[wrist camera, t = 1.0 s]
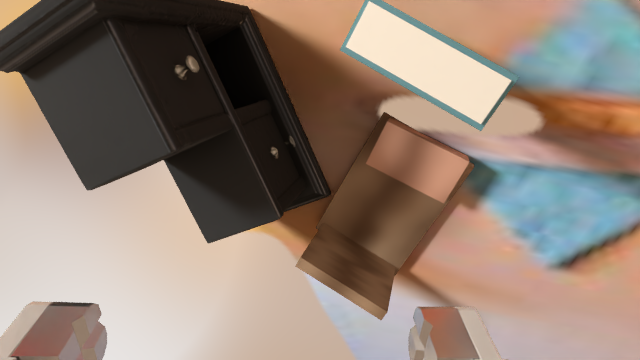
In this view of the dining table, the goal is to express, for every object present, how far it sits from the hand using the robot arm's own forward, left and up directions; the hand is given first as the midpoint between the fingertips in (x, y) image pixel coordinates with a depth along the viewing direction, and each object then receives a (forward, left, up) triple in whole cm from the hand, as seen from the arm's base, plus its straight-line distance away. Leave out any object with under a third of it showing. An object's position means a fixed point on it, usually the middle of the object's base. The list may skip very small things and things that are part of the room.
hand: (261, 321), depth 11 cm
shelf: (0, +9, -36) cm, 38 cm away
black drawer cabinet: (+16, 0, -37) cm, 40 cm away
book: (-4, -6, -36) cm, 37 cm away
